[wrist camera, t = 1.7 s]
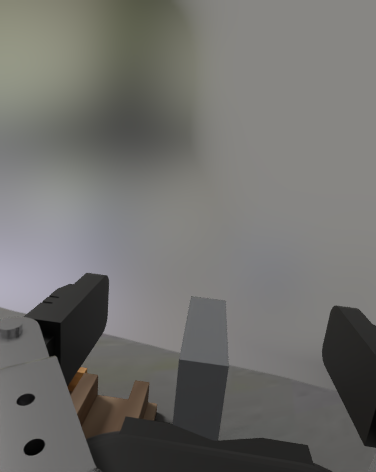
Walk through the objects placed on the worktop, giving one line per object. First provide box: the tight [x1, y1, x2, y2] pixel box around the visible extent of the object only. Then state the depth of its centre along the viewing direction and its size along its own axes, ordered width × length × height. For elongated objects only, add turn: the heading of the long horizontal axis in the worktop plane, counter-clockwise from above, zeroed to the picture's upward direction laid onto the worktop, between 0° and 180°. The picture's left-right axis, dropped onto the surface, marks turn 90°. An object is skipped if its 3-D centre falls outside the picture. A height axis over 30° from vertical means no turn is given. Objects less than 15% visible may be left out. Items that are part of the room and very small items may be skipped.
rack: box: [68, 367, 157, 439], centre depth 29 cm, size 20×15×4 cm
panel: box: [173, 296, 229, 441], centre depth 26 cm, size 3×9×15 cm, turn 175°
